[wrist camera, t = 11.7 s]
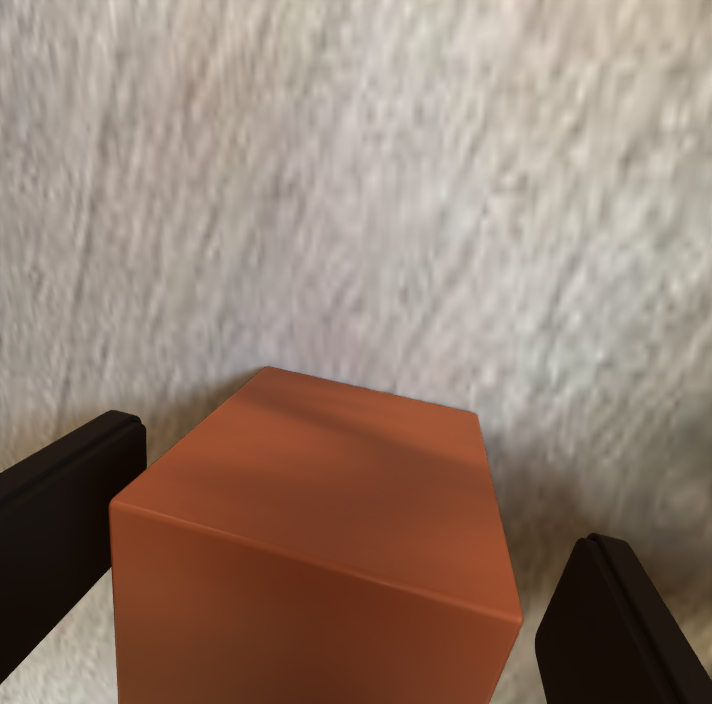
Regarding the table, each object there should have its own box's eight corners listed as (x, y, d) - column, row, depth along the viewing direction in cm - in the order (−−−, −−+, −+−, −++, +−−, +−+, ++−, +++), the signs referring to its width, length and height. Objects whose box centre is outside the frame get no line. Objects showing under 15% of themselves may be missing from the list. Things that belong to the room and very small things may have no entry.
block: (249, 529, 11) (118, 751, 7) (265, 364, 10) (104, 501, 5) (428, 579, 11) (424, 862, 6) (478, 412, 9) (527, 621, 4)
